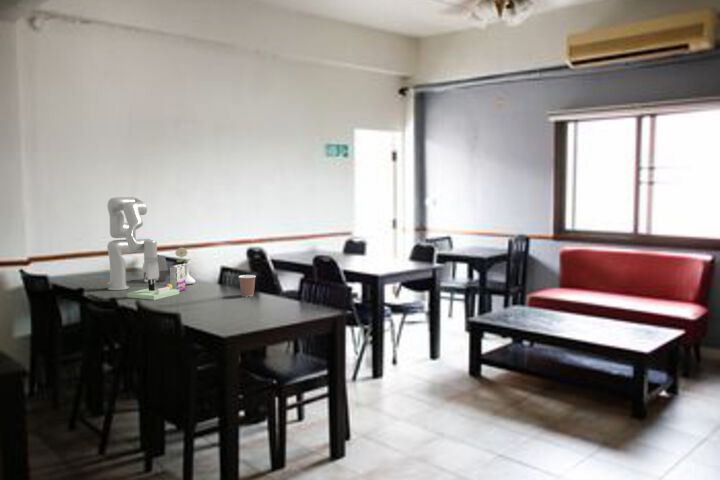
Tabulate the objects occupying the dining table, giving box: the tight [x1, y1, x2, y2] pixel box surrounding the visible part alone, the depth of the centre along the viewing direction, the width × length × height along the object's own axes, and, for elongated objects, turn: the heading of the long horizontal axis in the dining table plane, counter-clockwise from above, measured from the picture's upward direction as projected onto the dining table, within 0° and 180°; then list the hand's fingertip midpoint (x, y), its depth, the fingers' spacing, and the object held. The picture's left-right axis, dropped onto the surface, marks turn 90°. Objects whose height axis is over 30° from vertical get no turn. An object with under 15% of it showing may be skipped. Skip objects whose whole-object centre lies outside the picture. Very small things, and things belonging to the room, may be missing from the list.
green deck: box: [126, 286, 180, 301], centre depth 375 cm, size 21×22×6 cm
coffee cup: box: [238, 274, 257, 298], centre depth 374 cm, size 10×10×12 cm
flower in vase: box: [174, 247, 196, 285], centre depth 416 cm, size 13×11×25 cm
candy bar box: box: [169, 264, 187, 293], centre depth 389 cm, size 11×5×16 cm, turn 168°
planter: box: [155, 254, 169, 283], centre depth 431 cm, size 17×8×21 cm
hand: (151, 290), depth 373 cm, fingers closed
